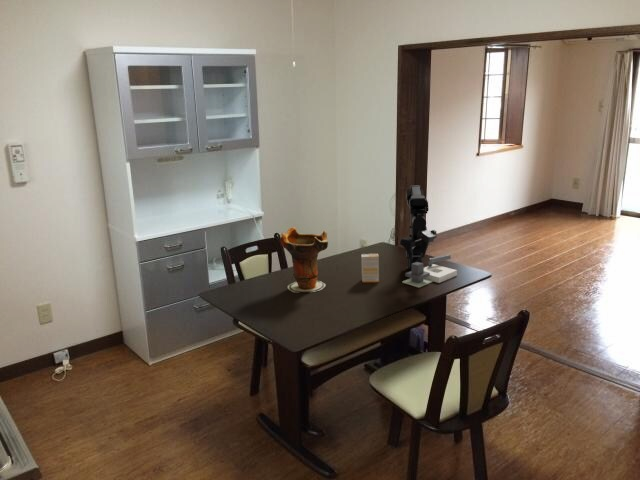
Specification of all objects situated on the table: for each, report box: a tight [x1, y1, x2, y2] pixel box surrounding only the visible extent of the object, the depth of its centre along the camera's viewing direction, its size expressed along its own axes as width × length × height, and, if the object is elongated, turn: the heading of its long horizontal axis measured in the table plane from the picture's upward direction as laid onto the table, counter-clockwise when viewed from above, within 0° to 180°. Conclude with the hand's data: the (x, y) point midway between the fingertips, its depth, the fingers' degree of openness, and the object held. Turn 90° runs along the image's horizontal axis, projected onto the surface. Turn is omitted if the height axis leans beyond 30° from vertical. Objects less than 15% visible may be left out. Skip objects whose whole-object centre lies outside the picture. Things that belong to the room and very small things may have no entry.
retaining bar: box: [427, 254, 452, 266], centre depth 270 cm, size 13×2×4 cm, turn 116°
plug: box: [404, 262, 430, 283], centre depth 254 cm, size 8×8×9 cm
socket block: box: [424, 263, 458, 284], centre depth 262 cm, size 14×14×3 cm
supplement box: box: [360, 253, 380, 283], centre depth 258 cm, size 8×5×13 cm, turn 84°
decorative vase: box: [279, 226, 329, 294], centre depth 253 cm, size 21×23×28 cm
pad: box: [401, 277, 434, 289], centre depth 255 cm, size 10×10×1 cm
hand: (417, 256), depth 252 cm, fingers open, 9 cm apart
